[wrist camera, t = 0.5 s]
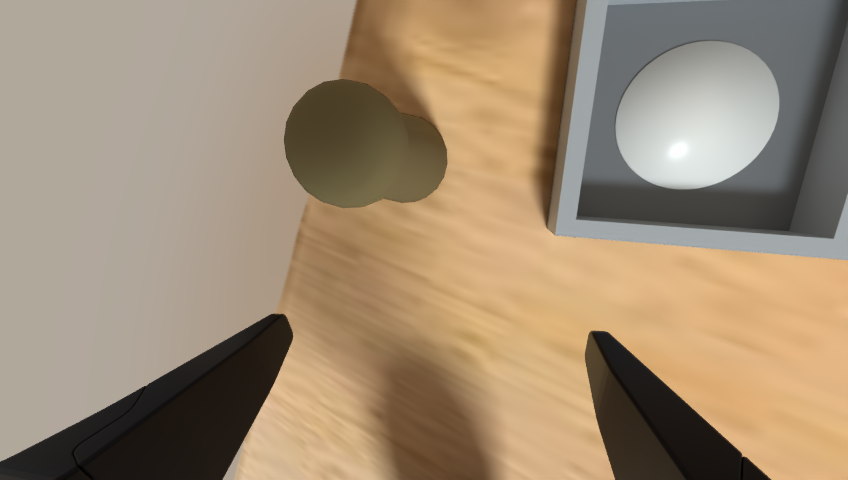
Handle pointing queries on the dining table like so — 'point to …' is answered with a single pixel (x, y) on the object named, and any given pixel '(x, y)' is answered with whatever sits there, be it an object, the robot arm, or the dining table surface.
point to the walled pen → (706, 126)
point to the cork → (361, 147)
